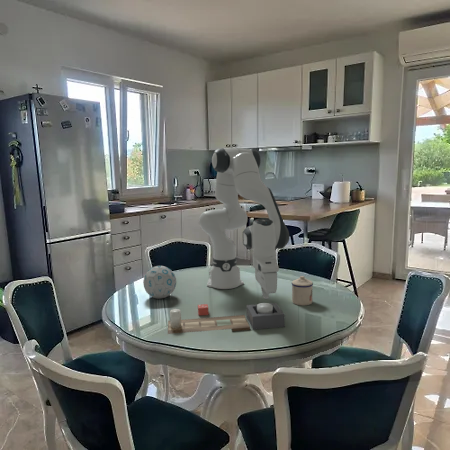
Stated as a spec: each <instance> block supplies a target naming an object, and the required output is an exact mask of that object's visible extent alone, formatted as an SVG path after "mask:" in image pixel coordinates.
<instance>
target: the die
mask: <svg viewBox="0 0 450 450" xmlns="http://www.w3.org/2000/svg"><path fill="white" fill-rule="evenodd" d="M209 312H210V311H209V304H208V303H206V304H205V303H204V304H197V313H198V316H208V315H209Z"/></svg>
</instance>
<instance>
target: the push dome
mask: <svg viewBox="0 0 450 450" xmlns="http://www.w3.org/2000/svg"><path fill="white" fill-rule="evenodd" d="M269 303H270V302H261V303H258V305H257V314H266V313H273V305H272V304H269Z"/></svg>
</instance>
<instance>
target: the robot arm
mask: <svg viewBox="0 0 450 450" xmlns="http://www.w3.org/2000/svg"><path fill="white" fill-rule="evenodd" d="M211 165H212V168H213V170H214V171H215V172H216V173H217V174H216V180H215V187H214V189H215V190H214V196H215V199H216V200H217V201H218V202H220V203H222V205H223V207H222V208H219V209H218V208H217V209H209V210H205V211H204V212H203V211H202V212H201V213H200V215H199V217H198V225H199V227H200V229H201V230H202V231H203V232H204V233H206V235H208V237H209V238H210V240H211V243H212V244H211V245H212V252H213V257H212V265H213V266H212V267H211V269H210V270H208V275H209V277H208V280H207V283H206V287H208V288H209V287H210V288H214V289H218V290H228V289H229V290H230V289H235V288H237V287H239V286H243V285H244V284H245V282H244V281H243V280H242V279H241V270H240V268H239V266H237V265H238V261H237V260H238V259H237V255H236V243H235V241H234V240H233V239H232V238H231V237H228V236H227V234H226V231H235V230H239V229H241V228H244V227H245V226H246V225H247V223H248V214H247V212H246V210H245V209H243V208H242V207H241V205H240V202H239V196H240V197H242V198H244V199H245V200H248V201H253V202H255V203H258V204H260V205H262V206H263V207H264V208H265V211H266V213H267V216H268V218H257V219H255V220H253V222H252V224H251V225H249V226H247V227H245V229H243V231H242V245H243V246H245V248H246V249H248V250H252V251H253V252H252V267H253V269H254V270H255V271H254V273H255V274H254V276H255V277H254V278H255V280H256V281H257V283H258V284H259V285H260V289H261V295H262V297H263V299H265V300H267V299H270V297H269V295H271V294H276V293H277V290H278V289H277V288H278V272H279V271H280V270H279V268H280V267H279V265H278V262H277V261H278V259H277V251H276V250H281V249H284V248H285V247H286V245H288V243H289V241H290V231H289V229H288V228H287V225H286V224H285V222H284V220H283V217H282V214H281V211H280V208H279V206H278V203H277V200H276V198H275V196H274V193H273V191H272V190H271V188H269V187H268V186H266V184H265V183H264V182H263V180H262V178H261V174H260V170H259V168H260V166H261V156H260V152H258V151H257V150H256V149H251V148H249V149H248V148H241V147H236V148H234V147H233V148H217V149H215V150H214V151H213V154H212V157H211Z"/></svg>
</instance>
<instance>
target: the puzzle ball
mask: <svg viewBox="0 0 450 450" xmlns="http://www.w3.org/2000/svg"><path fill="white" fill-rule="evenodd" d="M176 286H177V277H176V275H175V273H174V271H172V269H171V268H169V267H167V266H164V265H156V266H153V267H151V268H150V269H149V270H147V272H146V273H145V274H144V277H143V288H144V290H145V292H146V294H148V295H149V296H150V297H152V298H154V299H158V300H161V299H165V298H167V297H169V296H170V295H172V294H173V292H174V291H175V289H176Z"/></svg>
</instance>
